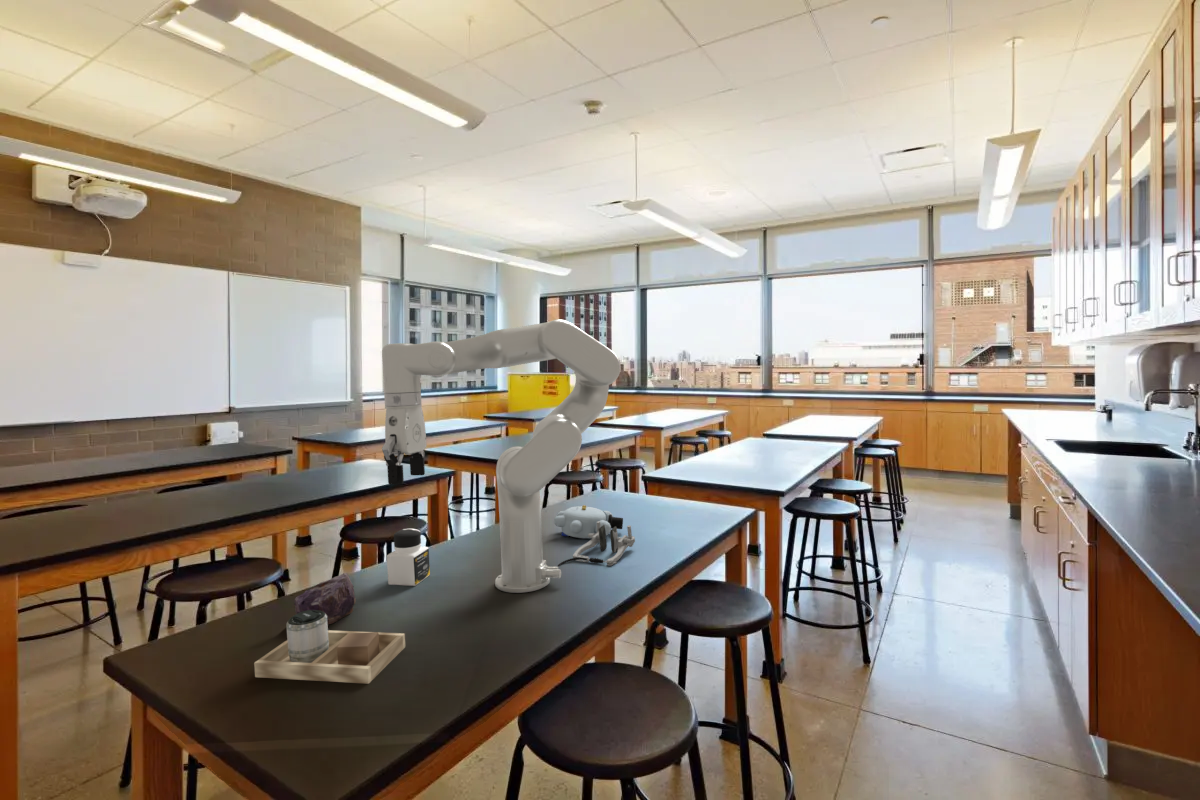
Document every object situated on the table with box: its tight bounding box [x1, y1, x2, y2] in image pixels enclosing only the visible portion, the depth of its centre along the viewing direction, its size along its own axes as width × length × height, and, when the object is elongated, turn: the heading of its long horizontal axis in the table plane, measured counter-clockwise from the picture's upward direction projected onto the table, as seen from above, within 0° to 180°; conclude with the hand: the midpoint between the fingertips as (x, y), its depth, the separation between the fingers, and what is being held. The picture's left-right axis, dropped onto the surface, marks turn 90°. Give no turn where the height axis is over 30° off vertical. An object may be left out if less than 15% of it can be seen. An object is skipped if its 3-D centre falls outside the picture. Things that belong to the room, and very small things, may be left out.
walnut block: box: [337, 631, 380, 666], centre depth 98 cm, size 5×5×4 cm
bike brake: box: [556, 521, 636, 567], centre depth 150 cm, size 14×7×20 cm
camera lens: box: [285, 610, 329, 663], centre depth 100 cm, size 6×6×8 cm
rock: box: [294, 572, 357, 626], centre depth 117 cm, size 12×9×10 cm
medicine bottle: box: [386, 528, 431, 587], centre depth 138 cm, size 7×7×12 cm
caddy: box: [253, 629, 406, 685], centre depth 99 cm, size 20×12×3 cm, turn 81°
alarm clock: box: [553, 505, 624, 539], centre depth 172 cm, size 17×8×20 cm
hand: (407, 479), depth 126 cm, fingers open, 9 cm apart
